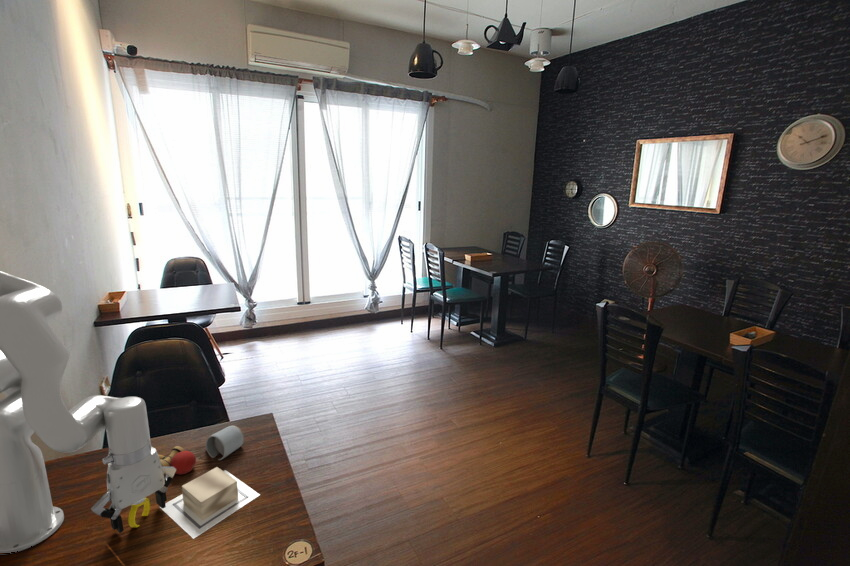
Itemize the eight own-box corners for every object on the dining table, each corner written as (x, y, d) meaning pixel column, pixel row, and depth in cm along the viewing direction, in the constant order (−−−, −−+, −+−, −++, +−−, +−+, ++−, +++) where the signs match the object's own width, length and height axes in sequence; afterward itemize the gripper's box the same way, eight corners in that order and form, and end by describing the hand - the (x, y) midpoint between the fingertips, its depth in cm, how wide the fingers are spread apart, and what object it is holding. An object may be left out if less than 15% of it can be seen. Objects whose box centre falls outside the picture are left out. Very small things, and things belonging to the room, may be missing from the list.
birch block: (202, 520, 98) (201, 502, 96) (183, 503, 102) (181, 486, 101) (238, 497, 105) (236, 481, 104) (218, 483, 110) (217, 466, 109)
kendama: (128, 475, 114) (180, 481, 109) (126, 453, 114) (179, 457, 109) (153, 463, 121) (203, 467, 116) (152, 441, 121) (202, 445, 116)
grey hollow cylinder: (247, 447, 125) (245, 425, 124) (225, 463, 118) (223, 439, 116) (220, 439, 129) (218, 417, 127) (198, 454, 122) (195, 431, 120)
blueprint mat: (193, 540, 92) (193, 538, 92) (159, 508, 101) (159, 506, 101) (260, 496, 106) (260, 494, 106) (225, 471, 115) (225, 469, 115)
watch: (142, 513, 100) (140, 491, 99) (154, 513, 100) (152, 491, 99) (125, 532, 94) (123, 508, 93) (138, 532, 94) (136, 508, 93)
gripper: (90, 480, 84) (103, 550, 88) (180, 439, 98) (187, 501, 102) (77, 465, 88) (89, 533, 92) (164, 428, 102) (172, 488, 106)
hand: (140, 516), depth 97 cm, fingers open, 8 cm apart
